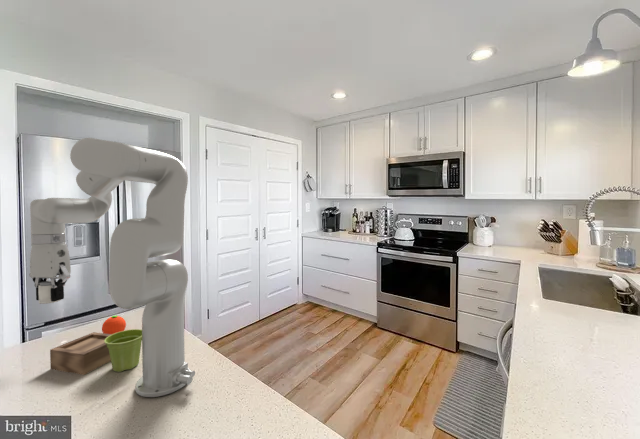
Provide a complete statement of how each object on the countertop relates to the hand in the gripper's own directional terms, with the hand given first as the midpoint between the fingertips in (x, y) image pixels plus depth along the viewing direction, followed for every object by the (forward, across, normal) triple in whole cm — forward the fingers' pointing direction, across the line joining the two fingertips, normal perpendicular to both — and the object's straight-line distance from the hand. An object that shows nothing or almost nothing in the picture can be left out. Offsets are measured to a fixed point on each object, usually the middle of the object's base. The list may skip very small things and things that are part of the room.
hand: (50, 299), depth 87 cm
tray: (+18, -15, 0) cm, 23 cm away
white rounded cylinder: (+1, 0, 0) cm, 1 cm away
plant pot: (+18, -28, 0) cm, 33 cm away
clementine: (+17, -6, -15) cm, 24 cm away
